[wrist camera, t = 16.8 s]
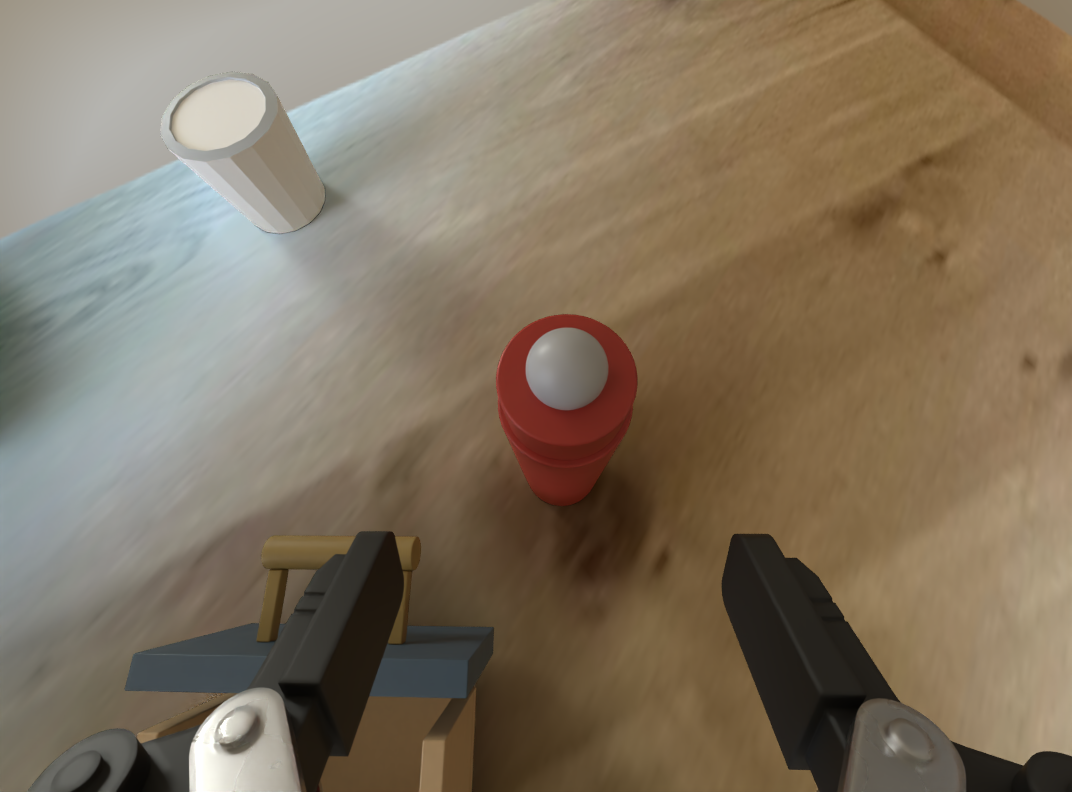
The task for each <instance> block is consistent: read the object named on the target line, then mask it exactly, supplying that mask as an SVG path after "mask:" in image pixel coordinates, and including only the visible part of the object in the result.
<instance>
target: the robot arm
mask: <svg viewBox="0 0 1072 792" xmlns="http://www.w3.org/2000/svg"><path fill="white" fill-rule="evenodd" d="M403 592H404V575H403V570H402V566H401V561H400V557H399V552H398V548H397V543H396V539H395V535H394V533H393V532H390V531H361V532H359V533H358V534H357V535H356V537H355V539H354V540H353V542H352V544H351V546H350V548H349V550H348V552H347V554H335V555H334V556H333V557H332V558H330V559H329V560H328V561H327V562H326V563H325V564H324V565H323V566H322V567H321V568H320V569H319V570H317V571H316V573H315V575H314V576H313V578H312V580H311V581H310V583H309V585H308V587H307V588H306V590H305V592H304V596H302V597H301V599H300V600H299V602H298V604H297V605H296V607H295V609H294V613H293V614H291V616H290V617H289V619H288V621H287V623H286V624H285V626H284V628H283V629H282V631H281V633H280V635H279V636H278V638H277V640H276V641H275V643H274V645H273V647H272V648H271V650H270V652H269V653H268V655H267V657H266V659H265V660H264V662H263V664H262V665H261V667H260V669H259V671H258V672H257V674H256V676H255V677H254V679H253V681H252V682H251V684H250V685H249V687H248V688H247V689H246V691H243V692H240V693H238V694H236V695H234V696H233V697H231V698H229V699H228V700H226V701H225V702H223V703H222V704H221V705H219V706H218V707H217V708H216V709H215V710H214V711H213V712H212V713H211V714H210V715H209V716H208V717H207V718H206V719H205V721H204V722H203V723H202V724H200V725H197V726H195V727H192V728H189V729H186V730H182V731H179V732H176V733H173V734H169V735H166V736H163V737H160V738H157V739H153V740H150V741H147V742H144V743H140V742H139V740H138V739H137V738H136V737H135V735H134V734H133V733H132V732H130V731H129V730H126V729H109V730H105V731H102V732H99V733H97V734H94V735H92V736H90V737H88V738H86V739H84V740H82V741H80V742H79V743H77V744H75V745H74V746H72V747H71V748H70V749H68V750H67V751H65V752H64V753H63V754H62V755H60V756H59V757H58V758H57V759H56V760H55V761H53V762H52V763H51V764H50V765H49V766H48V767H47V768H46V769H45V770H44V771H43V773H42V774H41V775H40V776H39V777H38V778H37V779H36V781H35V782H34V783H33V784H32V786H31V787H30V788H29V790H28V791H27V792H323V788H322V784H321V781H320V779H321V776H322V774H323V771H324V768H325V766H326V763H327V760H328V758H329V756H343V757H348V756H349V753H350V750H351V747H352V744H353V741H354V738H355V736H356V733H357V730H358V727H359V724H360V721H361V718H362V715H363V712H364V710H365V707H366V704H367V701H368V698H369V695H370V692H371V689H372V686H373V684H374V681H375V678H376V675H377V672H378V669H379V666H380V663H381V660H382V658H383V655H384V652H385V649H386V646H387V643H388V640H389V637H390V634H391V632H392V629H393V626H394V623H395V620H396V617H397V614H398V611H399V608H400V606H401V602H402V598H403ZM722 596H723V601H724V605H725V608H726V611H727V613H728V616H729V618H730V621H731V624H732V626H733V629H734V631H735V634H736V636H737V639H738V641H739V644H740V646H741V649H742V652H743V654H744V657H745V659H746V662H747V664H748V667H749V669H750V672H751V674H752V677H753V680H754V682H755V685H756V687H757V690H758V692H759V695H760V697H761V700H762V702H763V705H764V708H765V710H766V713H767V715H768V718H769V720H770V723H771V725H772V728H773V730H774V733H775V736H776V738H777V741H778V743H779V746H780V748H781V751H782V753H783V756H784V758H785V761H786V764H787V766H788V769H789V770H810V771H811V773H812V775H813V778H814V780H815V782H816V785H817V787H818V790H817V792H1072V756H1069V755H1065V754H1062V753H1058V752H1051V751H1043V752H1039V753H1036V754H1035V755H1033V756H1032V757H1031V758H1030V759H1029V760H1028V761H1027V762H1026V763H1025V765H1024V766H1023V765H1020V764H1017V763H1014V762H1010V761H1007V760H1004V759H1001V758H998V757H995V756H992V755H989V754H986V753H983V752H980V751H977V750H974V749H971V748H968V747H965V746H962V745H960V744H957V743H954V742H952V741H950V740H949V738H948V737H947V736H946V735H945V734H944V733H943V732H942V731H941V730H940V729H939V728H938V727H937V726H936V725H935V724H934V723H933V722H932V721H930V720H929V719H928V718H927V717H925V716H924V715H922V714H921V713H920V712H918V711H916V710H914V709H913V708H911V707H909V706H907V705H905V704H902V703H901V702H900V701H899V700H898V698H897V697H896V696H895V694H894V693H893V691H892V690H891V688H890V687H889V685H888V684H887V682H886V680H885V679H884V677H883V676H882V674H881V673H880V671H879V670H878V668H877V667H876V665H875V664H874V662H873V660H872V659H871V657H870V656H869V654H868V653H867V651H866V650H865V648H864V647H863V645H862V644H861V642H860V640H859V639H858V637H857V636H856V634H855V633H854V631H853V630H852V628H851V627H850V625H849V623H848V622H846V621H845V620H844V616H843V614H842V613H841V611H840V610H839V608H838V607H837V605H836V603H833V601H832V597H831V596H830V594H829V593H828V591H827V590H826V588H825V587H824V585H823V583H822V582H821V580H820V579H819V577H818V576H817V575H816V574H815V573H813V572H812V571H811V570H810V569H809V568H808V567H806V566H805V565H804V564H803V563H802V562H801V561H800V560H798V559H797V558H785V557H784V555H783V553H782V552H781V550H780V548H779V547H778V545H777V543H776V542H775V540H774V539H773V537H772V536H771V535H769V534H734V535H733V536H732V538H731V542H730V546H729V551H728V555H727V560H726V564H725V569H724V573H723V577H722Z"/></svg>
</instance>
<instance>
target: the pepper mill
mask: <svg viewBox="0 0 1072 792" xmlns="http://www.w3.org/2000/svg"><path fill="white" fill-rule="evenodd" d="M496 388H497V394H498V412H499V418H500V421H501V424H502V427H503V429H504V432H505V434H506V436H507V438H508V440H509V442H510V445H511V447H512V449H513V451H514V453H515V455H516V458H517V460H518V462H519V464H520V466H521V469H522V471H523V473H524V475H525V477H526V479H527V482H528V484H529V486H530V488H531V489H532V491H533V492H534V493H535V495H536V496H537V497H539V498H540V499H541V500H543V501H544V502H546V503H549V504H552V505H556V506H567V505H571V504H574V503H577V502H579V501H580V500H582V499H583V498H584V497H585V496H587V494H588V493H589V492H590V491H591V489H592V488H593V486H594V484H595V483H596V481H597V479H598V478H599V476H600V475H601V473H602V471H603V470H604V468H605V466H606V465H607V463H608V462H609V460H610V458H611V457H612V455H613V453H614V452H615V450H616V449H617V447H618V445H619V444H620V442H621V441H622V439H623V437H624V436H625V434H626V432H627V430H628V427H629V425H630V421H631V418H632V411H633V403H634V400H635V397H636V392H637V370H636V366H635V362H634V359H633V357H632V355H631V352H630V351H629V349H628V347H627V346H626V344H625V343H624V342H623V340H622V339H621V338H620V337H619V336H618V335H617V334H616V333H615V332H614V331H613V330H611V329H610V328H609V327H607V326H606V325H604V324H602V323H600V322H598V321H596V320H594V319H591V318H588V317H584V316H579V315H570V314H563V315H554V316H549V317H545V318H542V319H539V320H537V321H535V322H533V323H531V324H529V325H528V326H526V327H524V328H523V329H522V330H521V331H519V332H518V333H517V334H516V335H515V336H514V337H513V338H512V339H511V341H510V342H509V343H508V344H507V346H506V348H505V349H504V351H503V353H502V355H501V358H500V360H499V363H498V367H497V374H496Z"/></svg>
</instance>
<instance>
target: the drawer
mask: <svg viewBox="0 0 1072 792" xmlns="http://www.w3.org/2000/svg"><path fill="white" fill-rule="evenodd" d="M355 537H356V536H276V535H275V536H271V537H270V538H269V539H268V540H267V541H266V542H265V544H264V546H263V549H262V554H261V560H262V564H263V566H264V567H265V568H266V569H271V570H269V573H268V578H267V584H266V589H265V595H264V601H263V606H262V612H261V617H260V623H251V624H247V625H243V626H239V627H236V628H232V629H228V630H224V631H220V632H216V633H212V634H208V635H204V636H200V637H196V638H193V639H189V640H185V641H181V642H177V643H173V644H169V645H165V646H161V647H157V648H153V649H150V650H146V651H142V652H138V653H135V654H134V655H133V658H132V662H131V666H130V670H129V674H128V678H127V682H126V686H125V691H160V692H204V693H226V694H224V695H221V696H219V697H217V698H215V699H213V700H210V701H208V702H206V703H204V704H201V705H199V706H197V707H195V708H192V709H190V710H188V711H186V712H183V713H181V714H179V715H177V716H175V717H172V718H170V719H168V720H166V721H163V722H161V723H159V724H157V725H154V726H152V727H150V728H148V729H146V730H143V731H141V732H139V733H138V735H137V739H138V740H139V742H140V743H144V742H147V741H150V740H153V739H157V738H160V737H163V736H166V735H169V734H173V733H176V732H179V731H182V730H186V729H189V728H192V727H195V726H197V725H200V724H202V723H203V722H204V721H205V719H206V718H207V717H208V716H209V715H210V714H211V713H212V712H213V711H214V710H215V709H216V708H217V707H218V706H219V705H221V704H222V703H223V702H225V701H226V700H228V699H229V698H231V697H233V696H234V695H236V694H238V693H240V692H243V691H246V689H247V688H248V687H249V685H250V684H251V682H252V681H253V679H254V677H255V676H256V674H257V672H258V671H259V669H260V667H261V665H262V664H263V662H264V660H265V659H266V657H267V655H268V653H269V652H270V650H271V648H272V647H273V645H274V643H275V641H276V640H277V638H278V636H279V635H280V633H281V631H282V629H283V628H284V626H285V624H280V620H281V614H282V608H283V602H284V596H285V590H286V584H287V578H288V572H289V570H288V569H310V570H319V569H320V568H321V567H322V566H323V565H324V564H325V563H326V562H327V561H328V560H329V559H330V558H332V557H333V556H334V555H335V554H347V552H348V550H349V548H350V546H351V544H352V542H353V540H354V539H355ZM395 539H396V543H397V548H398V552H399V557H400V561H401V566H402V570H403V575H404V592H403V598H402V602H401V606H400V608H399V611H398V614H397V617H396V620H395V623H394V626H393V629H392V632H391V634H390V637H389V640H388V643H387V646H386V649H385V652H384V655H383V658H382V660H381V663H380V666H379V669H378V672H377V675H376V678H375V681H374V684H373V686H372V689H371V692H370V695H369V698H368V701H367V704H366V707H365V710H364V712H363V715H362V718H361V721H360V724H359V727H358V730H357V733H356V736H355V738H354V741H353V744H352V747H351V750H350V753H349V756H348V757H343V756H329V758H328V760H327V763H326V766H325V768H324V771H323V774H322V776H321V779H320V781H321V784H322V788H323V792H472V777H473V753H474V730H475V706H476V687H474V685H475V683H476V682H477V680H478V678H479V676H480V675H481V673H482V671H483V670H484V668H485V666H486V665H487V663H488V661H489V660H490V658H491V656H492V654H493V639H494V627H451V626H407V623H408V612H409V600H410V589H411V577H412V571H414V570H416V569H417V567H418V565H419V561H420V556H421V543H420V539H419V537H414V536H395Z"/></svg>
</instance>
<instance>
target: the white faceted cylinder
mask: <svg viewBox="0 0 1072 792" xmlns="http://www.w3.org/2000/svg"><path fill="white" fill-rule="evenodd" d="M160 135H161V137H162V139H163V141H164V143H165V145H166V146H167V149H168V150H169V151H171V152H172V153H173V154H174V155H175V156H176V157H177V158H179V159H180V160H181V161H182V162H183V163H184V164H185V165H187V166H188V167H189V168H190V169H191V170H192V171H193V172H195V173H196V174H197V175H198V176H199V177H200V178H201V179H203V180H204V181H205V182H206V183H207V184H208V185H209V186H211V187H212V188H213V189H214V190H215V191H216V192H217V193H219V194H220V195H221V196H222V197H223V198H224V199H225V200H227V201H228V202H229V203H230V204H231V205H232V206H234V207H235V208H236V209H237V210H238V211H239V212H240V213H242V214H243V215H244V216H245V217H246V218H247V219H248V220H250V221H251V222H252V223H253V224H254V225H256V226H257V227H259V228H260V229H262V230H264V231H265V232H271V233H278V234H281V233H286V232H292V231H296V230H298V229H300V228H301V227H303V226H305V225H307V224H309V223H310V222H311V221H312V220H313V219H314V218H315V217H316V216H317V215H318V214H319V213H320V211H321V209H322V206H323V204H324V201H325V188H324V186H323V184H322V182H321V180H320V178H319V176H318V174H317V172H316V170H315V168H314V166H313V165H312V163H311V161H310V159H309V157H308V155H307V153H306V151H305V149H304V147H303V145H302V143H301V141H300V139H299V137H298V135H297V133H296V131H295V129H294V127H293V126H292V124H291V122H290V120H289V118H288V116H287V114H286V112H285V110H284V108H283V106H282V104H281V102H280V100H279V98H278V96H277V95H276V93H275V92H274V90H273V89H272V87H271V86H270V84H269V83H268V82H267V81H265V80H263V79H261V78H259V77H257V76H255V75H254V74H249V73H240V72H227V73H222V74H216V75H211V76H208V77H206V78H204V79H202V80H200V81H198V82H195V83H193V84H191V85H189V86H188V87H187V88H185V89H184V90H183V91H182V92H181V93H180V94H178V95H177V96H176V97H175V98H174V99H173V100H172V101H171V103H170V104H169V106H168V108H167V109H166V111H165V113H164V114H163V116H162V121H161V131H160Z"/></svg>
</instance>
